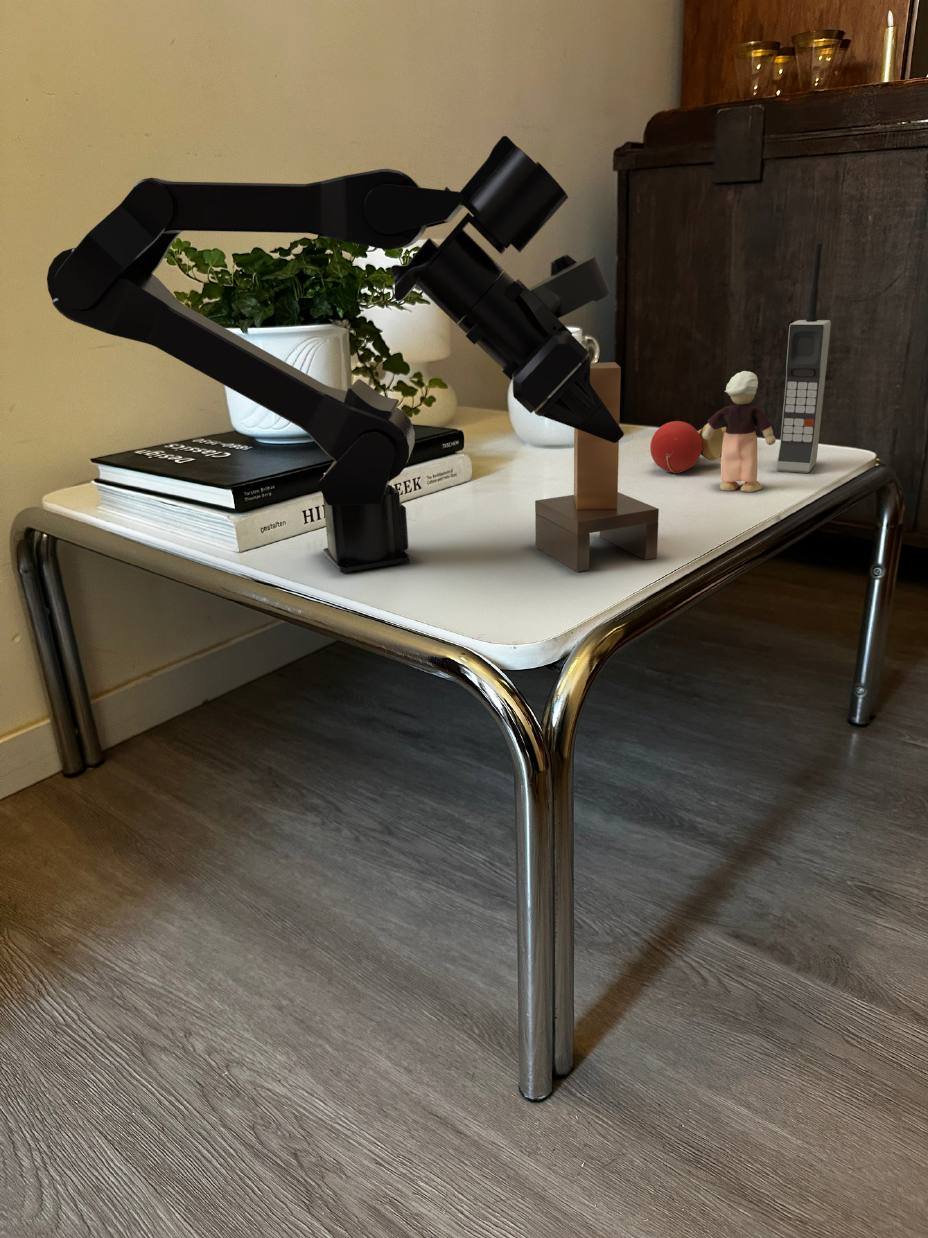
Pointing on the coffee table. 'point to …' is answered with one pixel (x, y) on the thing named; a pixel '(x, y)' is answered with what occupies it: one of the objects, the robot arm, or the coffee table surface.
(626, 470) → the coffee table surface
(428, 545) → the coffee table surface
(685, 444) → the kendama
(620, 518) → the shelf
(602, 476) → the block
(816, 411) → the vintage mobile phone
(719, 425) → the grandmother figurine
